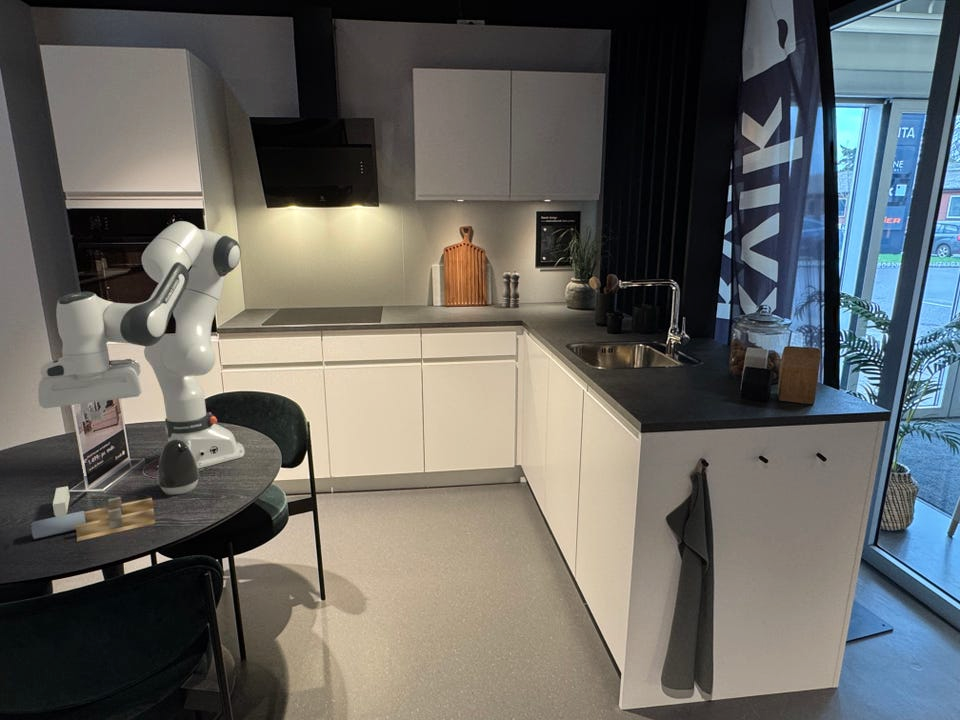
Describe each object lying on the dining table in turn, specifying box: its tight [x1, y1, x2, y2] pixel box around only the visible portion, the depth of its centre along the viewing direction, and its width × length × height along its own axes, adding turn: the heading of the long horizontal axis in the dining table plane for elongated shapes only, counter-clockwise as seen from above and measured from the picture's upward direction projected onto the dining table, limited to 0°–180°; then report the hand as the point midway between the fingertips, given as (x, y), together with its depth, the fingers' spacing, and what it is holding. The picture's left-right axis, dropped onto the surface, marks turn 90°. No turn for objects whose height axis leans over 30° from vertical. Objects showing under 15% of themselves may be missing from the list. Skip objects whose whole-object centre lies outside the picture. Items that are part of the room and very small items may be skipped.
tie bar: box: [52, 485, 71, 517], centre depth 150 cm, size 2×10×5 cm, turn 31°
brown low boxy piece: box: [75, 496, 156, 542], centre depth 142 cm, size 24×12×6 cm, turn 121°
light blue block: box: [30, 510, 86, 540], centre depth 139 cm, size 10×4×4 cm, turn 121°
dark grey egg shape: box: [157, 440, 200, 496], centre depth 160 cm, size 10×10×15 cm
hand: (96, 419), depth 139 cm, fingers closed
